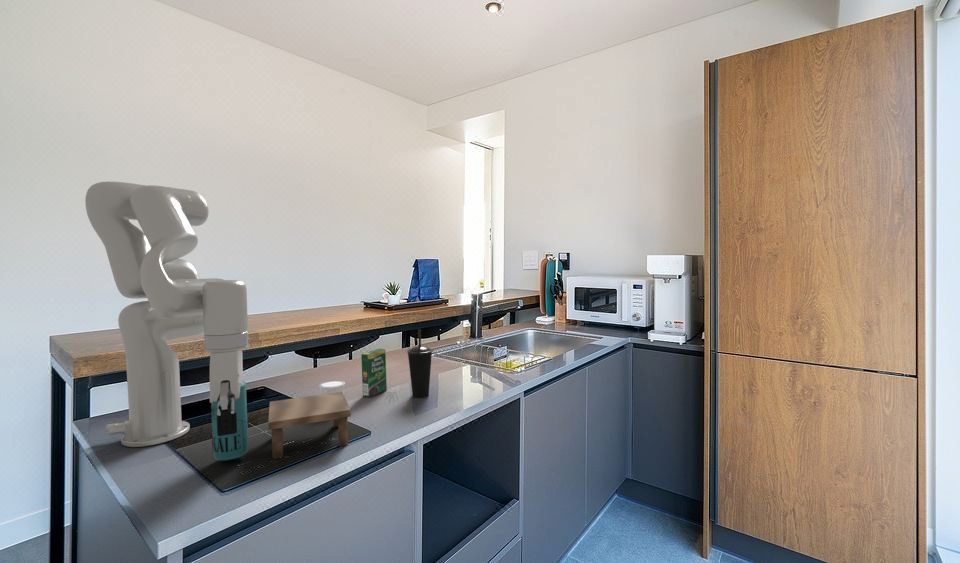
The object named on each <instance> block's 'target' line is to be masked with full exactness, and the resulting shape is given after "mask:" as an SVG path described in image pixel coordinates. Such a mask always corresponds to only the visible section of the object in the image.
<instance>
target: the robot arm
mask: <svg viewBox="0 0 960 563" xmlns="http://www.w3.org/2000/svg"><path fill="white" fill-rule="evenodd" d="M84 202H85V210H86V214H87V217H88V218H87V219H88V221H89V223H90V224H91V226H92V228H93V230H94V232H95V233H96V234H97V236H98V238H99V239H100V241H101V242H102V244H103V246H104V249H105V251H106V255H107V258H108V262H109V266H110V269H111V273H112V275H113V279H114V283H115V285H116V288H117V290H118V292H119V294H121V295H122V296H123V297H124V298H127V299H133V300H134V299H136V300H138V299H147V300H145V301H138V302H133V303H131V304H128V305H127V306H126V307H124V308H122V309H121V311H120V313H119V315H118V320H117V321H118V328H119V332H120V335H121V336H120V337H121V338H122V342H123V348H124V354H125V363H126V364H125V365H126V380H127V381H126V382H127V384H126V385H127V399H128V401H127V402H128V420H124V422H121V423H120V422H119V423H117V422H116V423H115V422H114V423H109V424H106V426H105V433H106V434H108V435H109V436H113V435H118V434H122V437H121V438H120V443H121V445H123V446H125V447H128V448H129V447H131V448H140V447H142V448H143V447H148V446H155V445H159V444H163V443H167V442H170V441H173V440H175V439H178V438H181V437H182V436H184V435H186V433H188V432H189V431H190V430H191V429H190V428H191V427H190V426H191V425H190V423H189V422H188V421H184V420H182V404H181V403H182V402H181V401H182V400H181V380H180V379H181V376H180V360H179V357H178V354H177V353H176V351H175V350H174V349H173V348H172V347H170V345H169V344H168V343H167V341H170V340H174V339H180V338H181V339H182V338H187V337H193V336H199V335H201V334H204V335H203V337H204V338H203V342H204V352H205V353H210V357H209V403H210V404H211V403H212V404H214V403H215V402H217V399H218V410H217V435H218V436H223V435H229V434H235V433H236V432H237V413H236V412H235V401H236V400H237V399H239V396H240V388H241V383H242V380H243V381H244V379H243V376H244V373H243V372H244V371H243V370H244V368H243V364H244V363H243V362H244V361H243V350H245V349H248V348H249V346H250V345H249V326H248V324H249V322H248V297H247V295H248V292H247V286H246V284H245V282H244V281H242V280H239V279H237V280H236V279H222V278H215V277H214V278H213V277H212V278H199V274H198V271H197V270H196V267H194V266H193V264H192V263H190V261H187V260H186V259H183V257H185V256H186V255H188V254H190V253H191V252H192V251H194V250H195V249H196V248H197V245H198V241H199V239H198V236H197V234H196V232H195V230H194V228H193V227H198V226H202V225H203V224H205V223H206V221H208V217H209V214H210V213H209V212H210V211H209V206H208V203H207V201H206V200H205V198H204V197H203V196H202V194H200V193H198V192H197V191H195V190H189V189H184V188H176V187H170V186H165V185H164V186H163V185H145V184H139V183H138V184H136V183H132V182H130V183H129V182H124V181H123V182H122V181H100V182H99V181H98V182H96V183H94V184H92V185H91V186H89V188H88V189H87V191H86V194H85V201H84ZM130 220H134V221H137V222H138V225H139V226H140V228H141V229H140V228H139V227H138V226H136V225H134V224H133V223H132V222H130ZM229 386H230V389H229ZM228 396H232V397H229V398H228ZM230 403H231V404H230Z"/></svg>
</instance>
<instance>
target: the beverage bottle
mask: <svg viewBox="0 0 960 563" xmlns="http://www.w3.org/2000/svg"><path fill="white" fill-rule="evenodd" d="M229 389H230V386H229ZM229 397H232V396H228V398H229ZM230 404H231V403H230ZM210 405H211V406H210V413H211V420H210V421H211V423H210V424H211V426H210V427H211V438H212V439H211V444H212V445H211V448H212V452H211V453H212V456H213V458H214V459H215V460H217V461H229V460H234V459H237V458H240V457H242V456H244V455H245V454H247V453H248V451H249V448H250V447H249V428H248V427H249V426H248V424H249V422H248V407H247V382H246V381H244V379H243V380H242V383H241V388H240V396H239V399H237V400H236V401H235V412H236V413H237V432H236V433H235V434H229V435H223V436H218V435H217V410H218V399H217V402H215V403H214V404H212V403H210Z"/></svg>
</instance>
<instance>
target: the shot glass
mask: <svg viewBox="0 0 960 563" xmlns="http://www.w3.org/2000/svg"><path fill="white" fill-rule="evenodd" d="M318 388H319V395H322V394H329V393H336V392H342V393H343V395H344V397H345V396H346V395H345V394H346V382H345V381H343V380H329V381H324V382H321V383H320V384H319V385H318ZM345 398H346V397H345Z"/></svg>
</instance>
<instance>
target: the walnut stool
mask: <svg viewBox="0 0 960 563" xmlns="http://www.w3.org/2000/svg"><path fill="white" fill-rule="evenodd" d="M351 416H352V410H351V408H350V406H349V404H348V402H347V400H346V397H344V395H343V393H342V392H336V393H329V394H322V395H320V394H317V395H310V396H301V397H295V398H294V397H293V398H287V399H281V400H280V399H279V400H272V401H269V409H268V422H267V423H268V431H270V430H271V447H272V448H271V451H272V452H271V453H272V456H271V457H272V460H278V459H277V458H280V457H282V456H283V457H284V441H283V440H284V428H288V427H296V426H301V425H306V424H307V425H308V424H313V423H314V424H315V423H319V422H325V421H331V420H332V428H333V427H338V428H337V429H338V430H337V433H338V434H337V435H338V437H337V438H338V446H339V445H340V446H339V447H345V446H347V445H348V444H349V426H348V424H349V423H348V422H349V420H348V418H349V417H351ZM283 457H282V458H283ZM280 459H281V458H280Z"/></svg>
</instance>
